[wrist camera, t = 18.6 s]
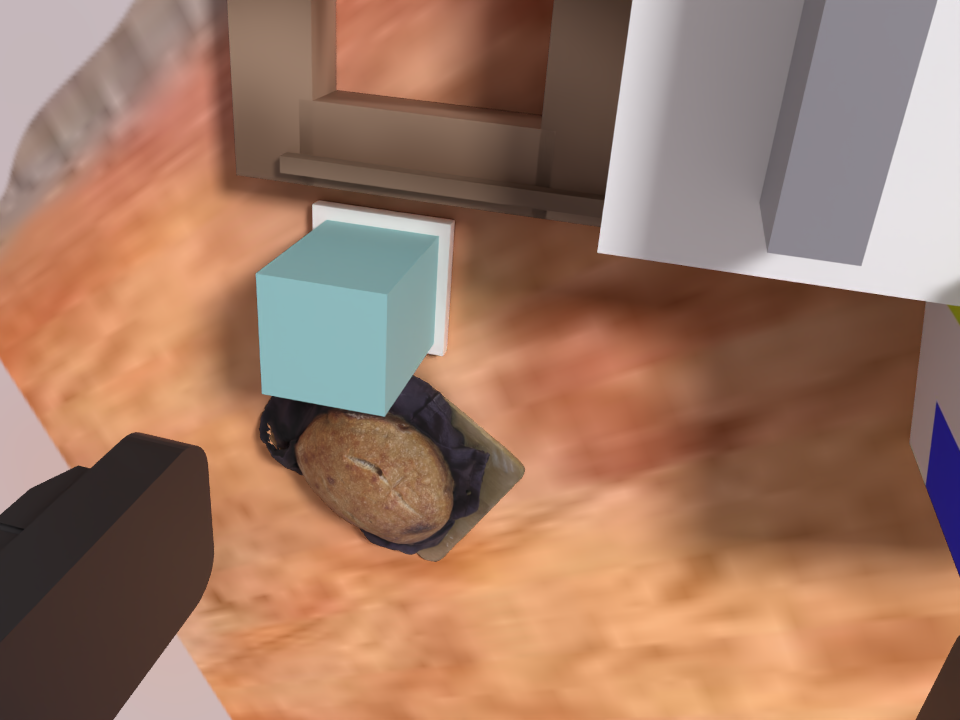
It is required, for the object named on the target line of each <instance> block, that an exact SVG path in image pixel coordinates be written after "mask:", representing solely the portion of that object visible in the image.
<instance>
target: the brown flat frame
mask: <svg viewBox="0 0 960 720" xmlns="http://www.w3.org/2000/svg"><path fill="white" fill-rule="evenodd" d="M632 1H633V0H554V5H553V15H552V25H551V35H550V44H549V54H548V64H547V74H546V84H545V93H544V103H543V113H542V115H535V114H527V113H519V112H510V111H502V110H494V109H486V108H478V107H469V106H461V105H453V104H445V103H437V102H429V101H420V100H412V99H404V98H396V97H388V96H379V95H371V94H363V93H355V92H347V91H338V90H336V0H227V10H228V28H229V46H230V64H231V82H232V100H233V118H234V136H235V155H236V173H237V175H240V176H247V177H254V178H261V179H268V180H275V181H282V182H289V183H296V184H303V185H310V186H317V187H324V188H331V189H338V190H345V191H352V192H359V193H366V194H373V195H380V196H387V197H394V198H401V199H408V200H415V201H422V202H429V203H436V204H443V205H450V206H457V207H464V208H471V209H478V210H485V211H492V212H499V213H506V214H513V215H520V216H527V217H534V218H541V219H548V220H555V221H562V222H569V223H576V224H583V225H590V226H597V227H601V222H602V215H603V208H604V201H605V194H606V187H607V179H608V172H609V165H610V158H611V151H612V144H613V137H614V129H615V122H616V115H617V108H618V101H619V94H620V87H621V79H622V72H623V65H624V58H625V51H626V44H627V36H628V29H629V22H630V15H631V8H632Z"/></svg>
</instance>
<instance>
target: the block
mask: <svg viewBox="0 0 960 720" xmlns="http://www.w3.org/2000/svg"><path fill="white" fill-rule="evenodd" d="M438 248H439V236H435V235H428V234H421V233H414V232H407V231H401V230H394V229H387V228H380V227H373V226H366V225H359V224H352V223H346V222H339V221H332V220H325V221H324V222H323V223H322V224H320V225H319V226H318V227H316V228H315V229H314V230H312V231H311V232H310V233H308V234H307V235H306V236H304V237H303V238H302V239H301V240H299V241H298V242H297V243H295V244H294V245H293V246H291V247H290V248H289V249H287V250H286V251H285V252H283V253H282V254H281V255H279V256H278V257H277V258H276V259H274V260H273V261H272V262H270V263H269V264H268V265H266V266H265V267H264V268H262V269H261V270H260V271H258V272H257V273H256V288H257V308H258V327H259V346H260V366H261V385H262V394H265V395H271V396H276V397H281V398H287V399H292V400H298V401H303V402H308V403H314V404H319V405H325V406H330V407H335V408H341V409H346V410H352V411H357V412H362V413H368V414H373V415H379V416H384V417H385V415H386V414H387V412H388V411H389V410H390V408H391V407H392V405H393V404H394V402H395V401H396V399H397V398H398V396H399V395H400V393H401V392H402V390H403V389H404V387H405V386H406V384H407V383H408V381H409V380H410V378H411V377H412V375H413V374H414V372H415V371H416V369H417V368H418V366H419V365H420V363H421V362H422V360H423V359H424V357H425V356H426V354H427V353H428V351H429V350H430V348H431V347H432V345H433V344H434V330H435V310H436V289H437V269H438Z"/></svg>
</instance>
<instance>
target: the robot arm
mask: <svg viewBox="0 0 960 720" xmlns="http://www.w3.org/2000/svg"><path fill="white" fill-rule="evenodd" d="M213 559H214V542H213V528H212V514H211V500H210V486H209V472H208V462H207V457H206V454H205V452H204V450H203V449H202V448H201V447H199V446H195V445H191V444H187V443H183V442H178V441H174V440H170V439H165V438H161V437H157V436H152V435H148V434H144V433H138V432H135V433H131V434H129V435H127V436H126V437H125V438H123V439H122V440H121V441H120V442H119V443H118V444H117V445H115V446H114V447H113V448H112V449H111V450H110V451H109V452H108V453H107V454H106V455H105V456H104V457H102V458H101V459H100V460H99V461H98V462H97V463H96V464H95V465H94V466H93V467H92V468H86V467H82V466H76V467H74V468H72V469H70V470H68V471H66V472H64V473H62V474H60V475H58V476H56V477H54V478H51V479H49V480H47V481H45V482H43V483H41V484H39V485H37V486H35V487H33V488H31V489H29V490H28V491H27V492H26V493H25V494H24V495H22V496H21V497H20V498H19V499H18V500H17V501H16V502H14V503H13V504H12V505H11V506H10V507H9V508H8V509H6V510H5V511H4V512H3V513H2V514H1V515H0V720H113V719H114V718H115V717H116V715H117V714H118V713H119V711H120V710H121V708H122V707H123V706H124V704H125V703H126V702H127V700H128V699H129V698H130V696H131V695H132V693H133V692H134V691H135V689H136V688H137V687H138V685H139V684H140V683H141V681H142V680H143V678H144V677H145V676H146V674H147V673H148V671H149V670H150V669H151V668H152V666H153V665H154V663H155V662H156V661H157V659H158V658H159V657H160V655H161V654H162V653H163V651H164V649H165V648H166V647H167V646H168V644H169V643H170V642H171V640H172V639H173V638H174V636H175V635H176V633H177V632H178V631H179V629H180V628H181V627H182V625H183V624H184V623H185V621H186V620H187V618H188V617H189V616H190V614H191V613H192V612H193V610H194V609H195V607H196V606H197V604H198V603H199V601H200V599H201V598H202V596H203V593H204V591H205V589H206V587H207V584H208V581H209V578H210V575H211V571H212V566H213ZM916 720H960V636H959V637H958V638H957V640H956V641H955V643H954V645H953V647H952V649H951V651H950V653H949V655H948V657H947V659H946V661H945V663H944V665H943V667H942V669H941V671H940V673H939V675H938V677H937V679H936V681H935V683H934V685H933V687H932V689H931V691H930V693H929V694H928V696H927V698H926V700H925V702H924V704H923V706H922V708H921V710H920V712H919V714H918V716H917V718H916Z"/></svg>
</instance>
